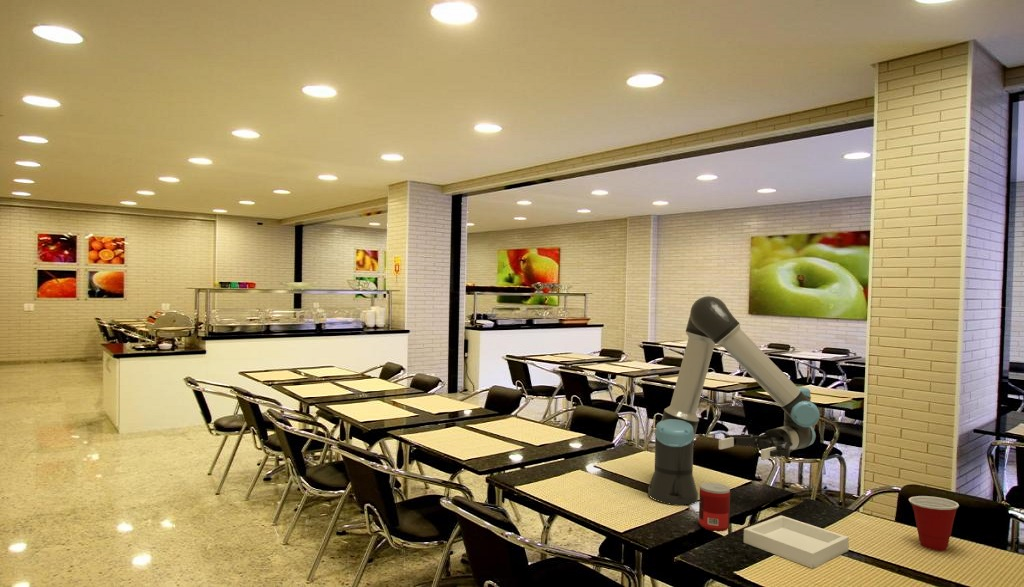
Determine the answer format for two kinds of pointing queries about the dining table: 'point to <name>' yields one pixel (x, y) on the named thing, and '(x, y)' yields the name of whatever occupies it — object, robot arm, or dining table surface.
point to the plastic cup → (934, 520)
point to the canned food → (714, 506)
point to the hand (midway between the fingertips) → (740, 449)
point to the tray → (796, 541)
